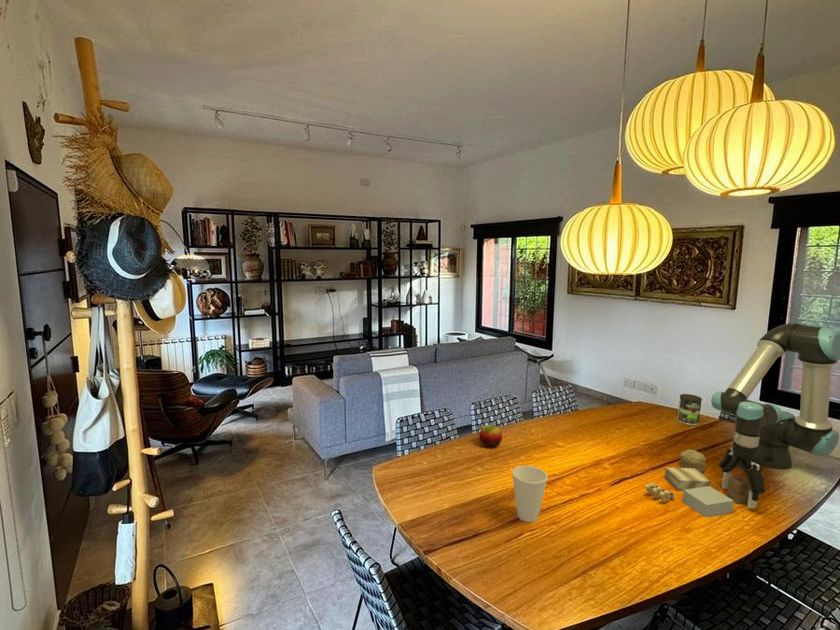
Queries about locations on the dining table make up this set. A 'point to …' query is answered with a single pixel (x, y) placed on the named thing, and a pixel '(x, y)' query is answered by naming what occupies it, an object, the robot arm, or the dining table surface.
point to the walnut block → (738, 490)
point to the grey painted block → (707, 501)
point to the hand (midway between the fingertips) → (738, 497)
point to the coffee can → (689, 409)
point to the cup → (528, 491)
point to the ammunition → (659, 492)
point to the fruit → (490, 436)
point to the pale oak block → (685, 478)
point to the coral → (693, 460)
